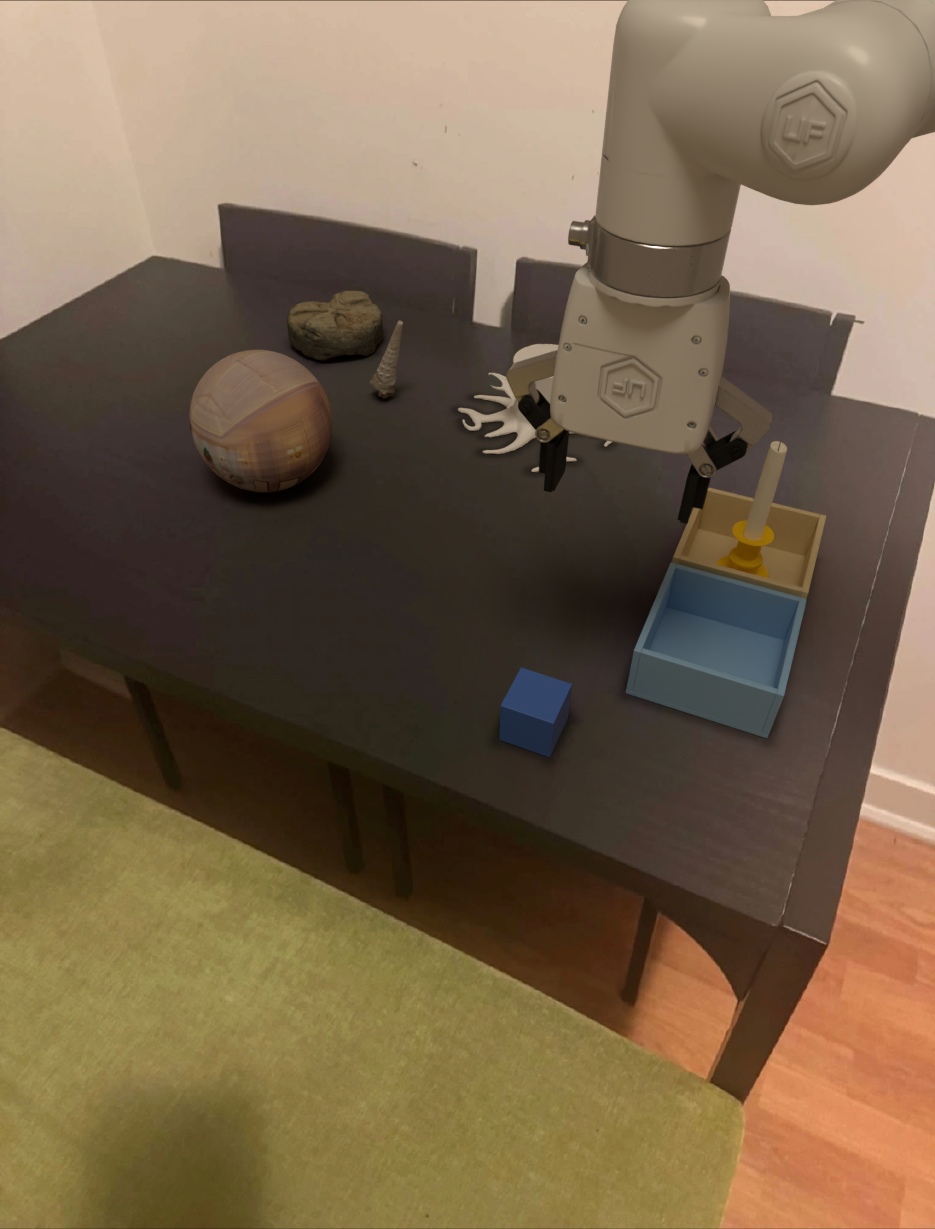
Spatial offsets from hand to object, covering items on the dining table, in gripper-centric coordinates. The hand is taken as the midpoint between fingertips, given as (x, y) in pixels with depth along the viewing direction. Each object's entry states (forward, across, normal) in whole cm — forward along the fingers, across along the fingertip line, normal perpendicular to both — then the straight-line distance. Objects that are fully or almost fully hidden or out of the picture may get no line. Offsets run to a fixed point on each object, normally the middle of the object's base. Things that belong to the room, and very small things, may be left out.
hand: (619, 496), depth 61 cm
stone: (+21, -50, +49) cm, 74 cm away
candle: (+20, +10, +19) cm, 29 cm away
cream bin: (+20, +10, +19) cm, 30 cm away
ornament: (+21, -42, +17) cm, 50 cm away
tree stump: (+21, -17, +40) cm, 48 cm away
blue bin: (+20, +10, +6) cm, 23 cm away
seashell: (+21, -37, +38) cm, 57 cm away
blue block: (+20, -3, -6) cm, 22 cm away
